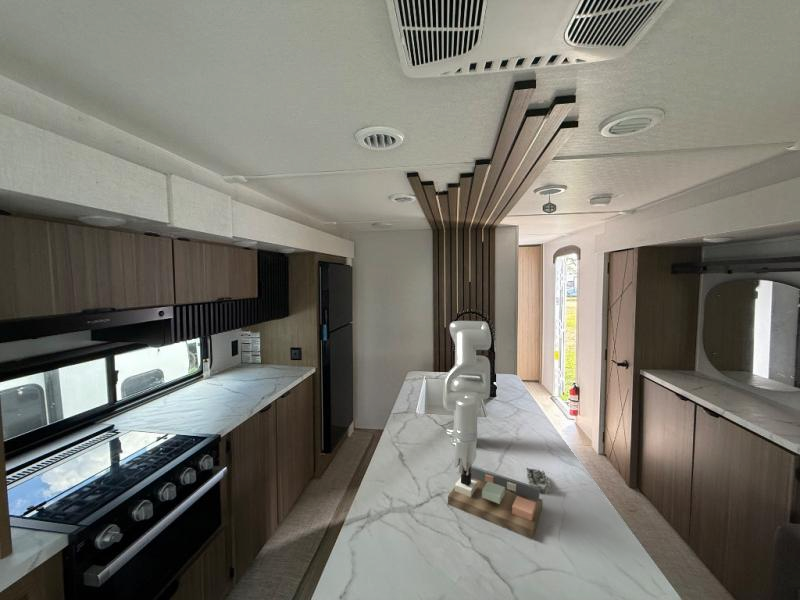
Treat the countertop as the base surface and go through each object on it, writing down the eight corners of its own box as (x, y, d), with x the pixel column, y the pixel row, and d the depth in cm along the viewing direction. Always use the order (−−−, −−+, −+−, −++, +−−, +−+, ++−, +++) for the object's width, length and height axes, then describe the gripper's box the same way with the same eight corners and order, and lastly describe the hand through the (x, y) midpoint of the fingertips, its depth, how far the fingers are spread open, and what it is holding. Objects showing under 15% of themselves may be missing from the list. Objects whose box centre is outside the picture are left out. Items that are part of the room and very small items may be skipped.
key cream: (454, 491, 116) (454, 484, 116) (461, 482, 121) (461, 476, 121) (470, 497, 112) (470, 490, 112) (476, 487, 117) (476, 481, 117)
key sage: (481, 497, 110) (482, 490, 110) (487, 487, 115) (487, 481, 115) (499, 504, 107) (499, 497, 107) (504, 493, 112) (505, 487, 112)
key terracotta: (512, 513, 105) (512, 506, 105) (516, 502, 110) (516, 495, 110) (531, 521, 101) (531, 513, 101) (535, 509, 106) (535, 502, 106)
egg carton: (551, 495, 118) (552, 485, 118) (529, 492, 120) (529, 482, 120) (545, 477, 129) (546, 467, 128) (525, 475, 130) (525, 465, 130)
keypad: (447, 504, 114) (447, 485, 113) (465, 480, 127) (465, 463, 126) (532, 539, 98) (532, 517, 98) (542, 508, 111) (542, 488, 111)
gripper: (464, 423, 123) (464, 470, 125) (447, 439, 111) (447, 491, 112) (483, 428, 119) (483, 476, 120) (468, 446, 107) (467, 499, 108)
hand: (465, 483), depth 116 cm, fingers closed
